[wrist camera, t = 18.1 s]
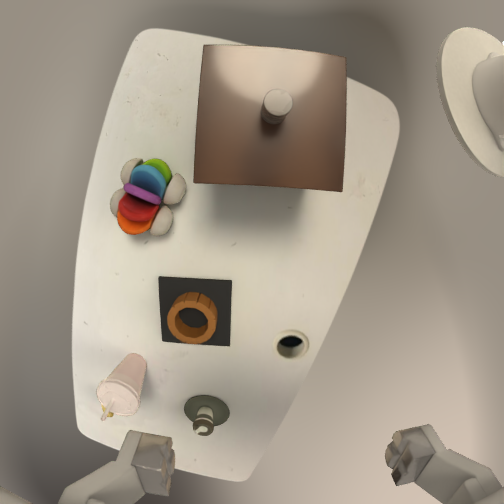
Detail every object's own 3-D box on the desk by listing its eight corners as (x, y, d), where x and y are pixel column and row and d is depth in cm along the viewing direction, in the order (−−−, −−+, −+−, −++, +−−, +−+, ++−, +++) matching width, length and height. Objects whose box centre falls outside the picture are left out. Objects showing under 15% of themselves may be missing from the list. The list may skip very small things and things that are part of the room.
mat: (231, 280, 41) (231, 281, 41) (229, 344, 44) (229, 346, 43) (159, 276, 41) (158, 277, 40) (163, 339, 43) (162, 341, 43)
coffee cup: (254, 416, 47) (255, 436, 43) (201, 440, 49) (198, 459, 44) (210, 373, 45) (207, 392, 40) (156, 401, 46) (150, 420, 42)
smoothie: (116, 342, 43) (80, 396, 30) (154, 350, 44) (127, 409, 30) (119, 373, 45) (88, 429, 31) (155, 381, 45) (132, 442, 32)
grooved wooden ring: (217, 293, 41) (215, 302, 38) (217, 334, 43) (215, 345, 40) (171, 290, 41) (166, 299, 38) (173, 331, 42) (168, 342, 40)
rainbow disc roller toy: (112, 216, 39) (88, 224, 32) (138, 149, 37) (117, 144, 30) (166, 241, 40) (150, 255, 33) (195, 173, 38) (184, 173, 31)
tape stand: (310, 96, 36) (360, 42, 18) (306, 186, 39) (357, 194, 21) (217, 90, 35) (197, 26, 17) (212, 180, 38) (185, 184, 20)
